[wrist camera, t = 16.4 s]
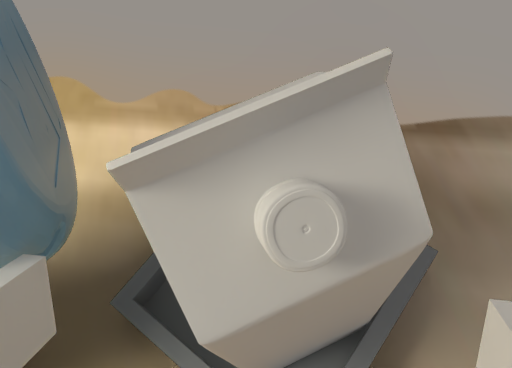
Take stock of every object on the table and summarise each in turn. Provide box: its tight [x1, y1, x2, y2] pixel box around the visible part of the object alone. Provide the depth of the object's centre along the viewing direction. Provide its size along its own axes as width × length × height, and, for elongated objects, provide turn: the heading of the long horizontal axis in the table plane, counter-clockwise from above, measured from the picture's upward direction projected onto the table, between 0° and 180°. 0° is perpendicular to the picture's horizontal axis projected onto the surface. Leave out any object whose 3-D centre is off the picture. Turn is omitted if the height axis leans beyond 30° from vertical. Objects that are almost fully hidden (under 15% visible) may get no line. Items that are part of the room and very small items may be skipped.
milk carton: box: [106, 47, 433, 368], centre depth 18 cm, size 7×7×19 cm
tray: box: [110, 245, 438, 368], centre depth 26 cm, size 14×14×3 cm
